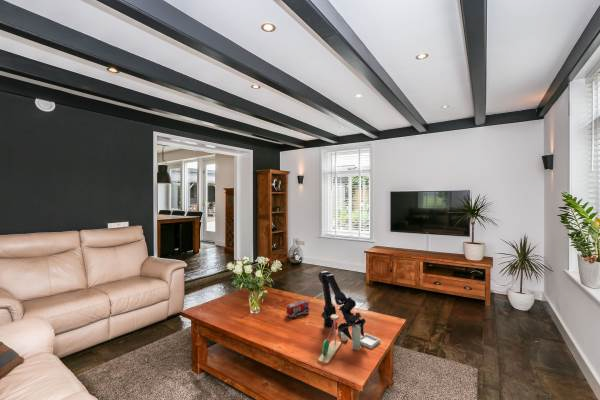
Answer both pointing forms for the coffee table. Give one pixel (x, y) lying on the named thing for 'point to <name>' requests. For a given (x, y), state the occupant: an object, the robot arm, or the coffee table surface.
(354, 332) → the pale green cylinder
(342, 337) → the white rounded cylinder
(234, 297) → the coffee table surface
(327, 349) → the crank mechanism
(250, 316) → the coffee table surface
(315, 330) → the coffee table surface
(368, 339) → the white tray
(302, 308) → the toy fire truck
